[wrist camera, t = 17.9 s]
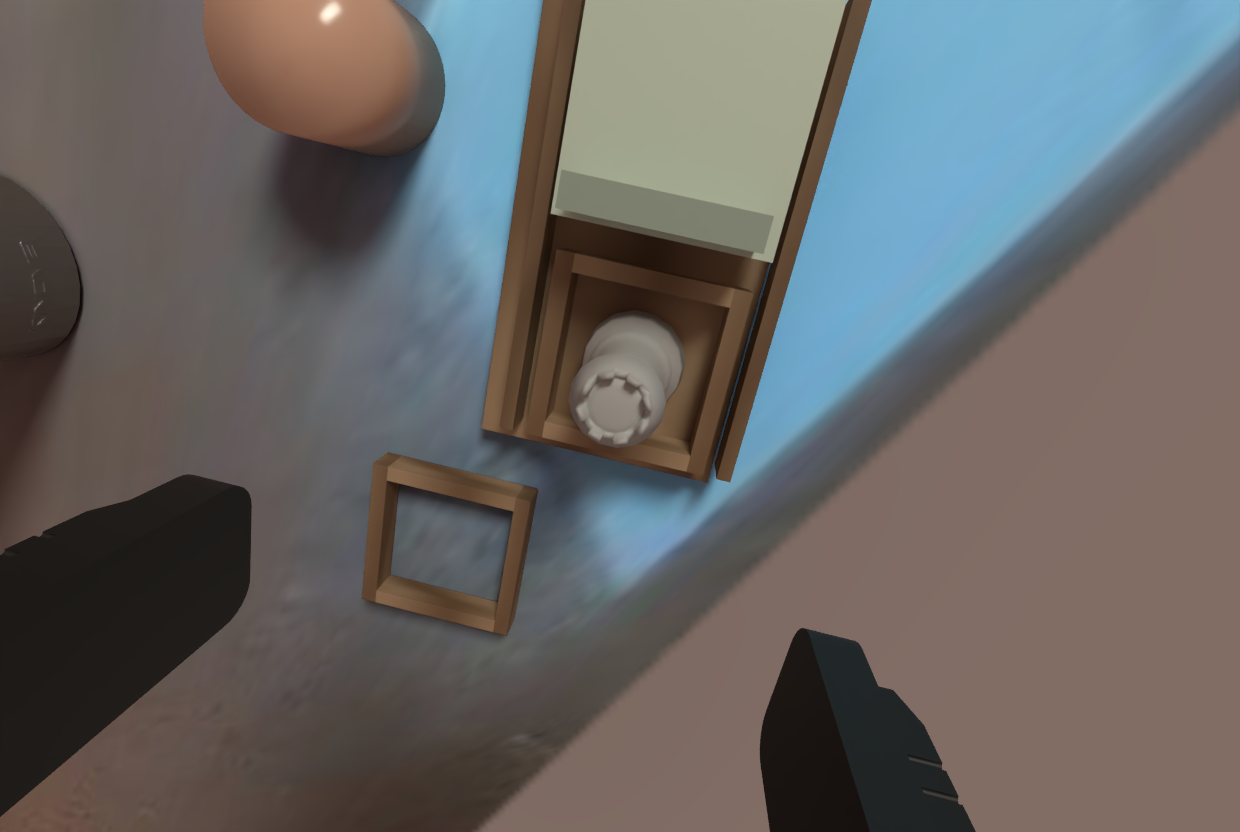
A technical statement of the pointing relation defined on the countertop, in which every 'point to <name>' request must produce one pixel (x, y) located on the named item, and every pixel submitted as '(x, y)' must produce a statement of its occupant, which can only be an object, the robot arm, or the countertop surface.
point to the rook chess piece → (626, 378)
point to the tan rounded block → (329, 70)
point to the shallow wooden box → (637, 285)
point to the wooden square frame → (429, 597)
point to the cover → (693, 117)
